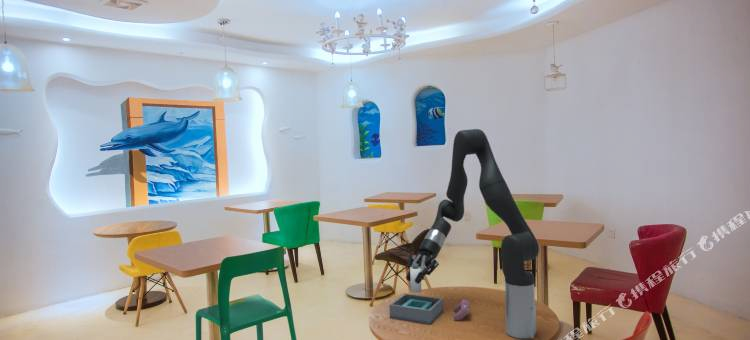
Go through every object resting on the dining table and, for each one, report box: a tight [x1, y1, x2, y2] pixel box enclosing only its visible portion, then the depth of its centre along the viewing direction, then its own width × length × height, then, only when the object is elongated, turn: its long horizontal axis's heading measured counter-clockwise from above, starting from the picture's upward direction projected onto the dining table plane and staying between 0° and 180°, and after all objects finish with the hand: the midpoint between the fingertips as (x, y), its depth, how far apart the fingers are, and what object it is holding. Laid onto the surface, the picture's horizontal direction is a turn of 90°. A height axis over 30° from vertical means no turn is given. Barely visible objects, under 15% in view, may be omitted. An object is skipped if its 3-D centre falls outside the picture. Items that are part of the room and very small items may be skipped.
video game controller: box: [453, 299, 471, 322], centre depth 164 cm, size 10×5×7 cm, turn 170°
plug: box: [409, 263, 422, 293], centre depth 166 cm, size 4×4×10 cm
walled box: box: [388, 293, 445, 326], centre depth 167 cm, size 16×14×5 cm
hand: (412, 281), depth 165 cm, fingers closed on plug, 4 cm apart
